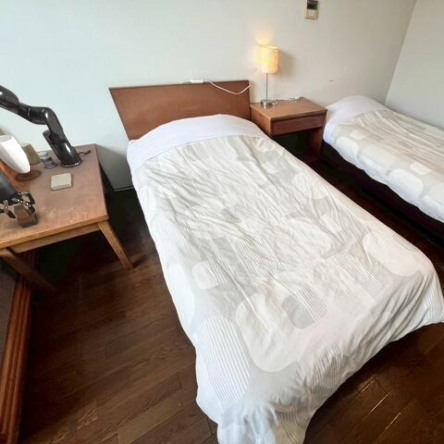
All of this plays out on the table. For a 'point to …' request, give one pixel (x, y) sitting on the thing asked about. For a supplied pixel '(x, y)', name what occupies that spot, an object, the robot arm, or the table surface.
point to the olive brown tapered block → (30, 153)
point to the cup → (13, 154)
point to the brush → (24, 215)
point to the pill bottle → (46, 159)
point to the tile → (61, 181)
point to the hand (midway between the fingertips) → (24, 214)
